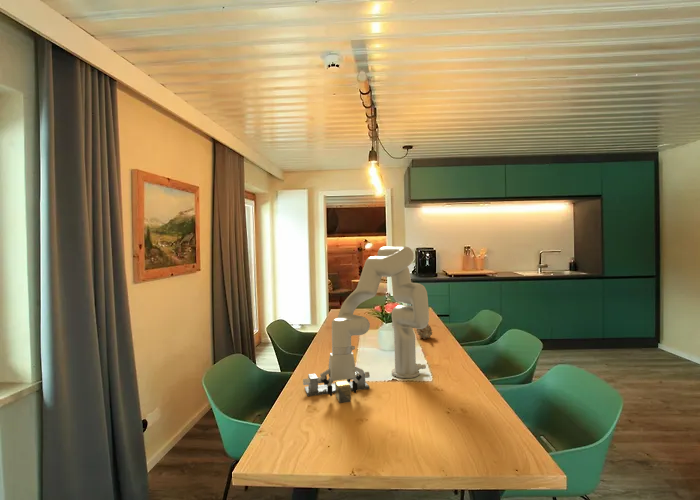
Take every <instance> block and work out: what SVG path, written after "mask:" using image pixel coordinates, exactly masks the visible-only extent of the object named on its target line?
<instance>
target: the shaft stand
mask: <svg viewBox="0 0 700 500" xmlns="http://www.w3.org/2000/svg"><path fill="white" fill-rule="evenodd" d="M358 374H359V372H358V371H356V375H355V377H356V376H357V375H358ZM307 375H308V376H307V378H303V379H302V385H303V386H304V391H305V394H306V396H307V397H313V396H321V395H329V393H328V392H327V384H326V383H325V382H324V381H323V380H322V378H321V376H319V377H318V376H317V374H316V373H308V374H307ZM325 378H326V379H327V380H328V376H327V375H326V376H325ZM369 378H370V372H369V371H364V373H363V375H362V377H361V379H360V380H359V381H358V383H357V390H356V391H363V390H369V389H370V385H369V384H368V383H367V382H366V379H369ZM351 380H352V381H351ZM346 381H347V382H348V384H349V385H350V386H351V392H353V385H352V382H353V379H347V380H346ZM331 385H332V394H336V391H335V382H333V383H332V384H331Z"/></svg>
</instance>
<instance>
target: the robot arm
mask: <svg viewBox="0 0 700 500" xmlns="http://www.w3.org/2000/svg"><path fill="white" fill-rule="evenodd" d="M414 254H415V253H414V251H413V249H411V248H410V247H408V246H404V245H403V246H399V245H398V246H396V245H395V246H394V245H393V246H392V245H388V246H382V247H380V248H379V249H378V250H377V255H374V256H369V257H368V258H366V260H365V262H364V265H363V268H362V271H361V273H360V277H359V280H358V283H357V286H356V288H355V290H353V292H351V293H350V294H349V295H348V296H347V297H346V299H345V300H344V301H343V302H342V304H341V307H340V309H339V312H338V314H337V317H336V318H334V319H332V320H331V352H330V353H329V357H328V359H329V360H328V368H327V369H326V370H325V371H323V372H321V373H320V374H319V375H320V376H319V377H321V378H322V380H323V381H324V382H325V383H326V384H327V392H328V393H329V394H328V395H329V397H332V396H333V393H332V385H331V384H333V383H334V382H336V381H345V380H346V381H347V379H353V380H352V381H353V382H352V385H353V391H352V392H353V393H354V394H357V391H358V390H357V383H358V381H359V380H360V379H361V377H362V375H363V373H364V372H365V371H364V370H363V368H360V367H358V366H356V362H355V357H354V356H355V355H354V352H353V350H356V346H355V345H352V336H362V335H363V336H364V335H365V334H367V333H368V331H369V330H370V327H371V326H370V324H371V323H370V321H369V319H368V318H366V317H365V316H362V315H357V314H354V312H355V311H356V309H357V307H358V306H359V305H360V304H362V303H364V302H365V301H368V300H369V299H370V300H371V299H372V298H374V297H376V295H377V293H378V289H379V286H380V283H381V280H382V278H383V277H386V278H387V277H388V278H390V279H391V287H392V294H393V295H392V296H393V299H394V301H396V302H398V303H401V304H399V305H395V307H393V309H392V311H391V320H392V321H391V322H392V326H393V335H394V336H393V338H394V342H393V343H394V368H393V369H392V370H391V374H392V376H393V377H395V376H396V378H399V379H414V378H417V377H418V376H420V370H423V369H424V370H425V369H427V364H421V363H417V360H416V359H417V356H416V355H417V354H416V353H417V352H416V350H417V349H416V334H415V331H414V329H415V330H417V329H423V328H425V327H426V326H427V325H428V324H429V321H430V311H429V308H430V307H429V298H428V291H427V289H426V286H424V285H423V284H421V283H420V282H419V283H418V282H412V279H411V273H410V272H411V271H410V269H409V266H410V265H411V264H412V263H413V261H414V259H415V257H414V256H415V255H414ZM406 304H407V305H406ZM356 371H358V372H359V374H358V375H357V376H356V377H355V375H356ZM327 375H328V377H329V378H327V379H326V378H325V376H327Z"/></svg>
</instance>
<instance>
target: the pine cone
mask: <svg viewBox="0 0 700 500" xmlns="http://www.w3.org/2000/svg"><path fill="white" fill-rule="evenodd" d="M415 331H416V334H417V335H418V336H419V337H420V338H421V339H422V338H423V340H426V339H430V338H431V336H432V335H433V329H432V327H431V325H430V323H428V325H427V326H426V327H425V328H423V329H415Z"/></svg>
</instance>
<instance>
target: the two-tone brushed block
mask: <svg viewBox="0 0 700 500" xmlns="http://www.w3.org/2000/svg"><path fill="white" fill-rule="evenodd" d="M334 383H335V391H336V393H335V398H336V400H337V401H338V403H339V404H346V403H351V402H352V393H351V392H352V391H351V386H350V385H349V384H348V382H347V380H337V381H334Z"/></svg>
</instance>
